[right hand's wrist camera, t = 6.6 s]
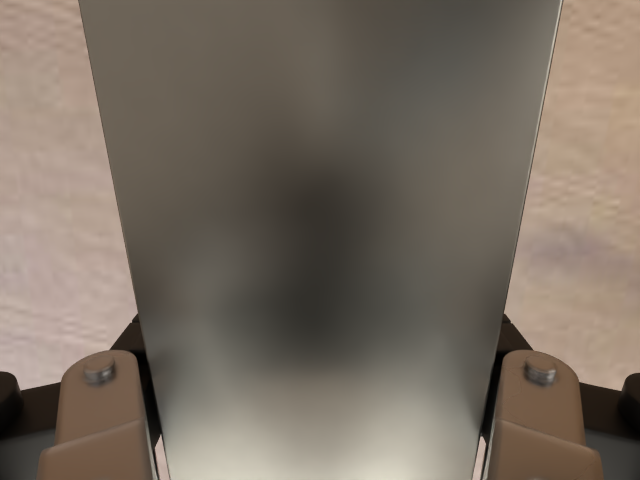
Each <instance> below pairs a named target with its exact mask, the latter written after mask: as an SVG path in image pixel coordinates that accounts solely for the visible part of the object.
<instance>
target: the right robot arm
mask: <svg viewBox="0 0 640 480" xmlns="http://www.w3.org/2000/svg"><path fill="white" fill-rule="evenodd" d="M160 435H161V430H160V425H159V420H158V415H157V409H156V404H155V399H154V394H153V388H152V383H151V378H150V373H149V367H148V362H147V357H146V352H145V346H144V341H143V336H142V331H141V326H140V320H139V315H138V314H137V315H136V316H135V317H134V319H133V320H132V323H130V324H129V325H128V326H127V328H126V329H125V330H124V332H123V333H122V334H121V335H120V337H119V338H118V339H117V341H116V342H115V343H114V345H113V346H112V347H111V348H110V350H107V351H102V352H98V353H95V354H92V355H90V356H87V357H85V358H83V359H81V360H79V361H78V362H76V363H75V364H73V365H72V366H71V367H70V368H69V369H68V370H67V371H66V372H65V373H64V375H63V377H62V380H61V382H59V383H55V384H50V385H45V386H40V387H36V388H31V389H26V390H21V391H20V388H19V385H18V382H17V379H16V377H15V376H14V375H13V374H11V373H8V372H0V480H160V475H159V469H158V463H157V457H156V452H155V446H156V444H157V442H158V440H159V437H160ZM480 436H483V438H484V440H485V442H486V447H485V452H484V457H483V463H482V469H481V475H480V480H640V373H635V374H632V375H629V376H628V377H627V378H626V380H625V382H624V385H623V388H622V391H618V390H613V389H608V388H603V387H598V386H594V385H589V384H585V383H581V382H579V380H578V377H577V375H576V373H575V372H574V371H573V370H572V369H571V368H570V367H569V366H568V365H567V364H565V363H564V362H562V361H561V360H559V359H557V358H555V357H553V356H550V355H548V354H545V353H542V352H538V351H534V350H533V349H532V348H531V346H530V345H529V344H528V343H527V341H526V340H525V339H524V337H523V336H522V335H521V334H520V332H519V331H518V330H517V329H516V327H515V326H514V325H513V323H511V321H510V320H509V318H508V317H507V316H506V314H504V315H503V320H502V325H501V330H500V336H499V341H498V346H497V351H496V357H495V362H494V367H493V372H492V378H491V383H490V388H489V393H488V399H487V404H486V409H485V414H484V420H483V425H482V430H481V435H480Z"/></svg>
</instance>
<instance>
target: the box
mask: <svg viewBox="0 0 640 480" xmlns="http://www.w3.org/2000/svg"><path fill="white" fill-rule="evenodd" d="M78 1H79V6H80V12H81V17H82V22H83V27H84V33H85V38H86V43H87V48H88V53H89V59H90V64H91V69H92V74H93V80H94V85H95V90H96V95H97V101H98V106H99V111H100V116H101V121H102V127H103V132H104V137H105V142H106V148H107V153H108V158H109V163H110V169H111V174H112V179H113V184H114V190H115V195H116V200H117V205H118V210H119V216H120V221H121V226H122V231H123V237H124V242H125V247H126V252H127V258H128V263H129V268H130V273H131V278H132V284H133V289H134V294H135V299H136V305H137V310H138V315H139V320H140V326H141V331H142V336H143V341H144V346H145V352H146V357H147V362H148V367H149V373H150V378H151V383H152V388H153V394H154V399H155V404H156V409H157V415H158V420H159V425H160V430H161V435H162V441H163V446H164V451H165V456H166V462H167V467H168V472H169V477H170V480H472V477H473V472H474V467H475V462H476V456H477V451H478V446H479V441H480V435H481V430H482V425H483V420H484V414H485V409H486V404H487V399H488V393H489V388H490V383H491V378H492V372H493V367H494V362H495V357H496V351H497V346H498V341H499V336H500V330H501V325H502V320H503V315H504V309H505V304H506V299H507V293H508V288H509V283H510V278H511V272H512V267H513V262H514V257H515V251H516V246H517V241H518V236H519V230H520V225H521V220H522V215H523V209H524V204H525V199H526V194H527V188H528V183H529V178H530V173H531V167H532V162H533V157H534V152H535V146H536V141H537V136H538V131H539V125H540V120H541V115H542V110H543V104H544V99H545V94H546V89H547V83H548V78H549V73H550V68H551V62H552V57H553V52H554V47H555V41H556V36H557V31H558V26H559V20H560V15H561V10H562V5H563V0H78Z"/></svg>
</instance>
